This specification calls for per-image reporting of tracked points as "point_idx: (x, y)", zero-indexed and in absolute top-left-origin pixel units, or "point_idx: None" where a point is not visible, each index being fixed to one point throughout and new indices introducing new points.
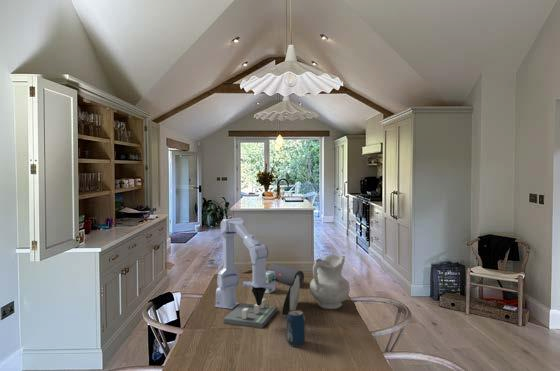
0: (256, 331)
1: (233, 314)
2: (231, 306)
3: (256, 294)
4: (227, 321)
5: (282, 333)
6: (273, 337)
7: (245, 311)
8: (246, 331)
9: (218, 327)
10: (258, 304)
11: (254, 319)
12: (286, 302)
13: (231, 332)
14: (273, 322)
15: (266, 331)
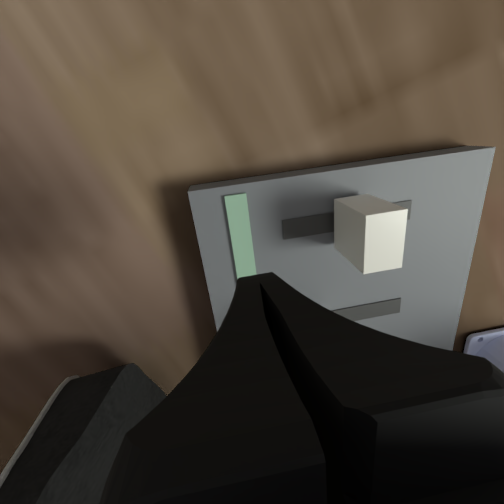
0: (197, 114)
1: (445, 239)
2: (481, 349)
3: (316, 347)
4: (450, 149)
5: (3, 167)
6: (9, 62)
7: (367, 212)
8: (265, 79)
9: (481, 57)
10: (254, 277)
11: (277, 230)
12: (41, 463)
13: (363, 7)
14: (173, 293)
15: (131, 147)
